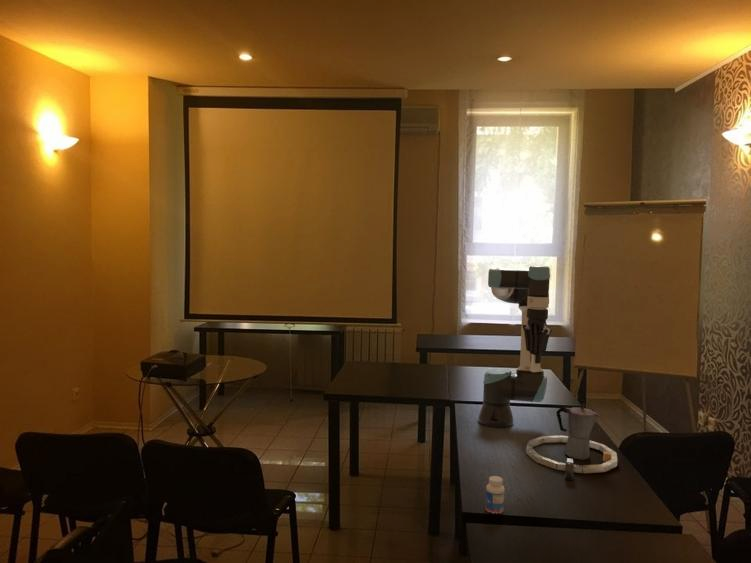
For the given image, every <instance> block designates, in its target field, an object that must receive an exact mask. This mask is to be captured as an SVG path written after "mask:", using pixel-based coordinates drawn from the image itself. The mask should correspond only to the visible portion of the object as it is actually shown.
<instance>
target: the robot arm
mask: <svg viewBox="0 0 751 563" xmlns="http://www.w3.org/2000/svg"><path fill="white" fill-rule="evenodd" d="M550 278H551V268H550V266H548V265H547V266H546V265H530V266H529V267H528V269H521V268H520V269H519V268H517V269H516V268H515V269H514V268H498V267H497V268H489V269H488V278H487V285H488V286H487V287H489V288H491V293H492V295H493V297H495V298H496V299H498V300H500V301H502V302H503V303H507V304H517V305H518V309H519V311H521V330H520V354H519V355H520V360H519V363H520V364H519V366H518V367H517V368H516V369H515V370H516V371H515V373H513V372H512V370H511V369H509V368H493V369H490V370H487V371H486V372H485V373H484V375H483V376H484V377H483V395H482V396H483V397H482V405H481V409H480V411H479V414H478V420H477V422H479V423H480V424H481V425H483V426H486V427H491V428H508V427H511V426H513V425H514V416H513V412H512V410H511V401H514V402H516V401H517V402H530V403H542V402H543V401H544V399H545V396H546V395H545V394H546V391H547V385H548V376H547V375H545V373H544V372H545V371H544V370H543V369H542V367H541V361H542V360H541V357H542V355H543V354H544V355H545V354H546V352H547V348H548V343H549V339H550V335H551V333H552V328H549V327H547V326H548V324H547V320H548V319H549V309H548V308H549V304H550V280H551V279H550Z"/></svg>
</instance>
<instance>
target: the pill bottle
mask: <svg viewBox="0 0 751 563" xmlns="http://www.w3.org/2000/svg"><path fill="white" fill-rule="evenodd" d="M503 483H504V482H503V478H502V477H500V476H498V475H492V476H491V475H490V476H489V478H488V483H487V485H486V490H485V511H487V512H488V513H490V512H491V514H495V513H496V514H497V513H499V514H501V513H503V512H504V510H505V486H504V485H503Z"/></svg>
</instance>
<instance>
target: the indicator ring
mask: <svg viewBox="0 0 751 563" xmlns="http://www.w3.org/2000/svg"><path fill="white" fill-rule="evenodd" d="M568 436H569V435H541V436H538V437H535V438H532V439H529V440H527V445H526V447H525V454H526V455H527V456H528V457H529V458H531V459H532V460H533V461H534V462H535V463H538V464H540V465H542V466H546V467H549V468H552V469H555V470H556V471H557V470H558V471H564V479H566V480H569V481H571V480H574V475H575V474H574V473H577V474H578V473H579V474H593V473H594V474H596V473H606V472H608V471H611V470H612V469H615V468H616V467H618V453H617V452H616V451H615V450H614V449H612V448H610V447H608V446H607V445H605V444H603V443H600V442H596V441H593V440H591V439H589V440H590V442H589V448H591V449H595V450H598V451H600V452H601V453H603V455H602V456H603V457H602V461H603V463H601V464H583V465H580V464H575V463H574V458H572V457H569V458H568V457H567V458H566V462H559V461H557V460H553V459H550V458H548V457H545V456H542V455H540V453H538V452H537V451H536V450H535V449H534V447H538V446H539V445H542V444H546V443H547V444H549V443H550V444H552V443H564V444H565V443H566V444H567V440H568Z"/></svg>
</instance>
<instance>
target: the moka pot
mask: <svg viewBox="0 0 751 563" xmlns="http://www.w3.org/2000/svg"><path fill="white" fill-rule="evenodd" d="M585 406H586V405H585V404H584V403H580V407H577V406H576V407H575V406H574V407H573V406H572V407H565V406H561V407H560V408H559V409H558V410H557V411H556V418H557V420H558V425H559V429H560V431H562V432H565V433H566V432H567V431H568V435H567V436H568V440H567V443H566V445H565V448H564V455H566V456H568V457H569V458H571V459H576V460H583V461H584V460H588V459H589V458H590V447H589V442H590V440H591V439H590V433H591V432H592V430H593V426H594V424H595V423H596V422H597V420H598V419H599V417H601V415H600V414H599V413H598V412H595V411H592V410H591V409H588V408H585ZM562 412H563V413H565V414H568V429H569V430H568V429H567V428H564V425H563V422H562V417H561V413H562Z"/></svg>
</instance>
